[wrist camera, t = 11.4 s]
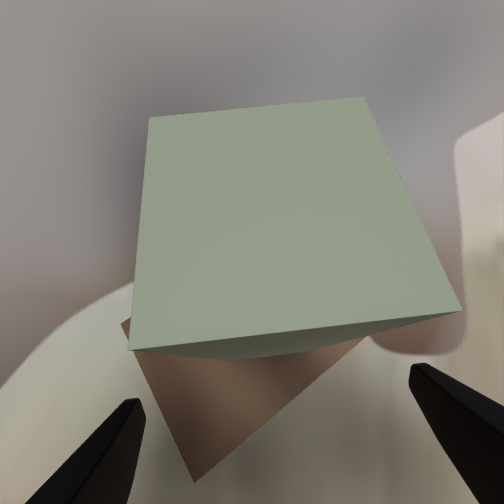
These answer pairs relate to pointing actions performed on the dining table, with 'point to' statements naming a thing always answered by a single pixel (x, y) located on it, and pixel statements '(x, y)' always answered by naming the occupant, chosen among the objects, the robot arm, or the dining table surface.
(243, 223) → the sage-green block
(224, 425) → the walnut base board
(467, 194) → the dining table surface
